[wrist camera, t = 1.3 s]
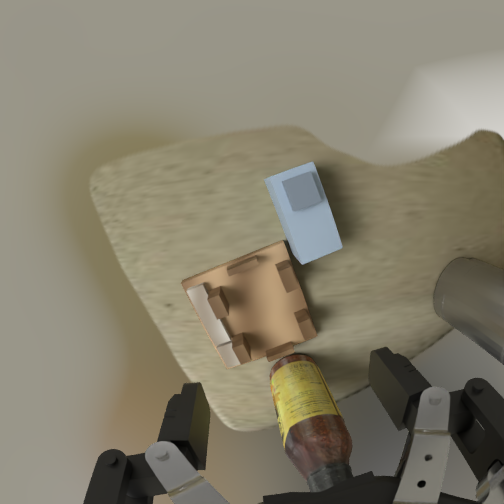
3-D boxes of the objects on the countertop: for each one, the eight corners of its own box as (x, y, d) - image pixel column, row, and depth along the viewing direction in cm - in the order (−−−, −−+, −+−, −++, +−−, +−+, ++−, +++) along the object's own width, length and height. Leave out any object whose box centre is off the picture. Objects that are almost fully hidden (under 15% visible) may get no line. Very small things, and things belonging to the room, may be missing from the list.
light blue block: (300, 165, 26) (316, 160, 21) (327, 239, 28) (347, 250, 22) (263, 179, 26) (270, 176, 21) (292, 253, 28) (304, 267, 23)
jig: (282, 240, 27) (288, 247, 24) (315, 331, 30) (323, 347, 26) (182, 280, 28) (175, 292, 24) (227, 364, 30) (226, 382, 27)
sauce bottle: (257, 373, 31) (277, 521, 11) (296, 342, 30) (351, 490, 11) (292, 397, 32) (326, 526, 13) (328, 369, 31) (389, 496, 12)
